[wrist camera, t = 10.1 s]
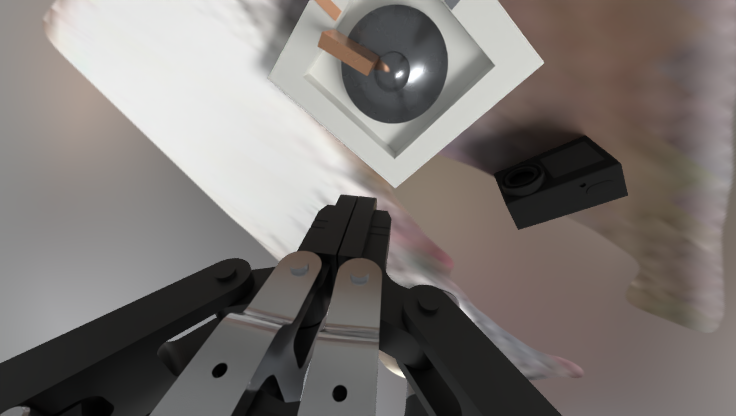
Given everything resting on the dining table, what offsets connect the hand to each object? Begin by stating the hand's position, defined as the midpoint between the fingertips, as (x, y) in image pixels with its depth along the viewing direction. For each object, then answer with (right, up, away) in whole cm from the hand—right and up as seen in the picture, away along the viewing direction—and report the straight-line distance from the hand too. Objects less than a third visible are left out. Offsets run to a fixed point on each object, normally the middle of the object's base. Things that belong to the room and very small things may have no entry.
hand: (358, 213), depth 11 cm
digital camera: (+22, +6, +22) cm, 31 cm away
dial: (+3, +15, +17) cm, 23 cm away
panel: (+3, +16, +18) cm, 24 cm away
